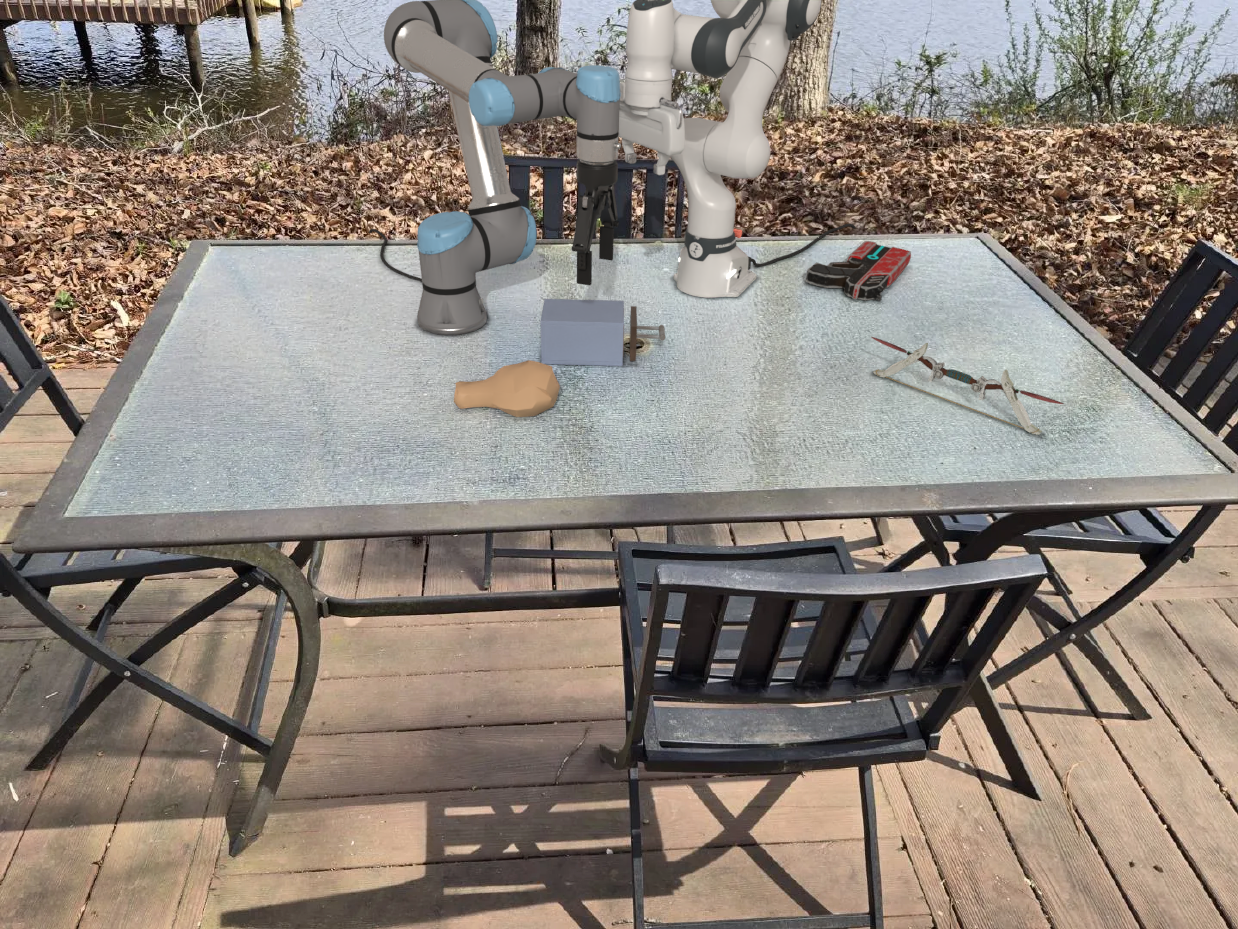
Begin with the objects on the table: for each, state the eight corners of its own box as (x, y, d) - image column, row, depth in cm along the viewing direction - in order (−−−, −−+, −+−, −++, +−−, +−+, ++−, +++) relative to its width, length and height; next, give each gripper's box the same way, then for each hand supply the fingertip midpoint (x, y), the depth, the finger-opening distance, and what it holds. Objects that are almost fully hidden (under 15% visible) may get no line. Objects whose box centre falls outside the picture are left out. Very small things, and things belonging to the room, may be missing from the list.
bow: (1053, 437, 161) (1070, 389, 156) (1050, 441, 160) (1067, 393, 155) (866, 368, 183) (875, 324, 177) (862, 371, 182) (871, 326, 176)
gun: (803, 270, 216) (880, 289, 208) (845, 233, 238) (916, 249, 230) (800, 287, 219) (876, 306, 211) (842, 249, 240) (912, 265, 233)
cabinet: (622, 342, 191) (623, 300, 185) (622, 365, 181) (623, 322, 176) (545, 340, 190) (544, 298, 185) (541, 363, 181) (540, 320, 176)
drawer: (662, 340, 190) (664, 306, 185) (664, 361, 181) (666, 327, 177) (563, 337, 189) (562, 304, 185) (560, 359, 181) (559, 324, 177)
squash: (561, 423, 162) (553, 385, 155) (455, 431, 163) (443, 394, 157) (564, 386, 169) (557, 349, 163) (463, 394, 171) (452, 358, 165)
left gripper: (595, 180, 148) (593, 298, 160) (636, 145, 168) (631, 252, 180) (553, 175, 150) (554, 292, 162) (599, 141, 170) (597, 247, 182)
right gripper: (695, 102, 160) (690, 178, 168) (630, 82, 174) (628, 154, 182) (668, 105, 157) (664, 183, 165) (604, 85, 171) (602, 158, 178)
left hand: (595, 271), depth 171 cm, fingers open, 13 cm apart
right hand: (644, 168), depth 173 cm, fingers open, 8 cm apart
